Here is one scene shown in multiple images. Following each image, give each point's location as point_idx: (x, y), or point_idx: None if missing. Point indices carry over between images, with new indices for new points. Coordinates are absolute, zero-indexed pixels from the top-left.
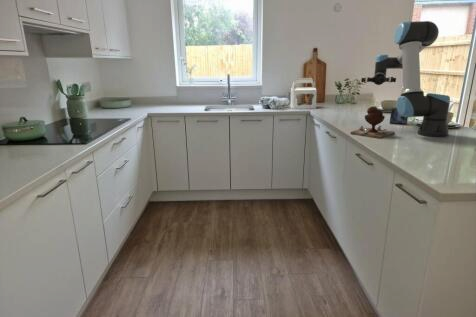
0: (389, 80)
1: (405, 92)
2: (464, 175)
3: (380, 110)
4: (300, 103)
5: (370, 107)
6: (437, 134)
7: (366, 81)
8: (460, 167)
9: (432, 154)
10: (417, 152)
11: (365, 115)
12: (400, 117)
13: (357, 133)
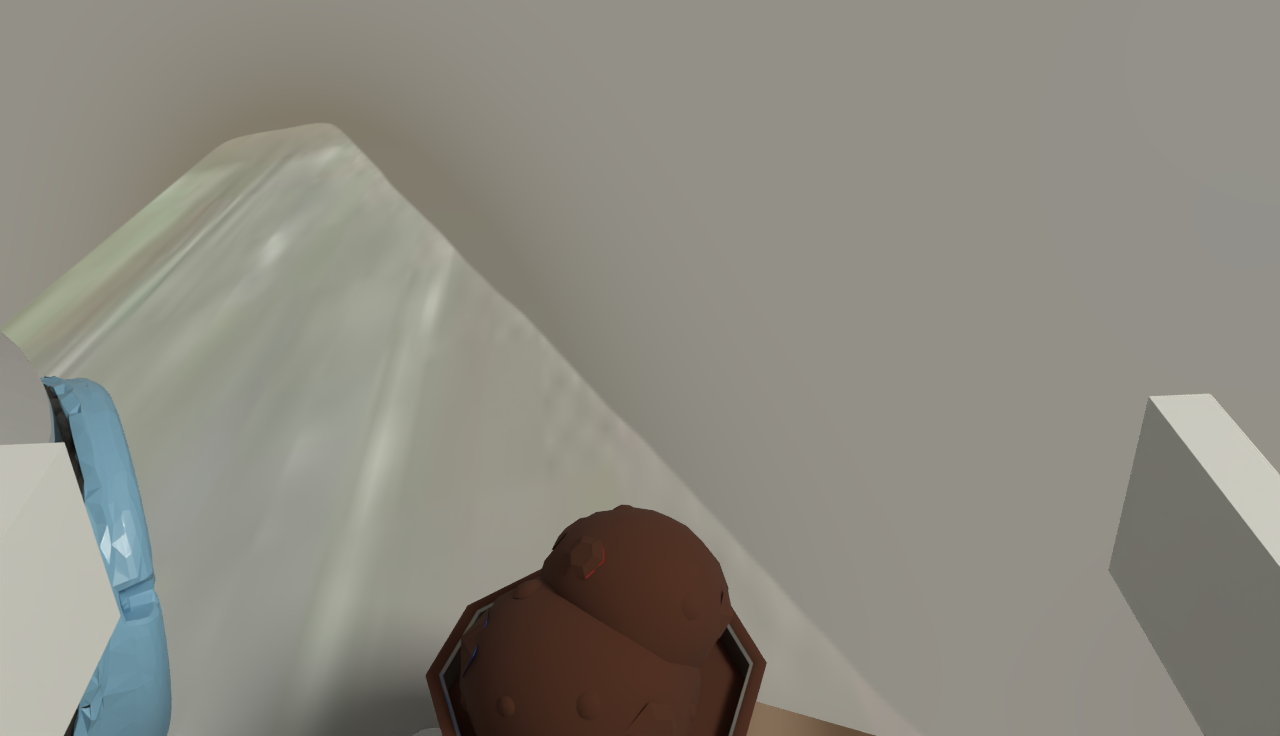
0: (79, 524)
1: (2, 335)
2: (165, 211)
3: (499, 615)
4: None
5: (673, 521)
6: None
7: (1123, 517)
8: (121, 265)
9: (163, 379)
10: (252, 388)
11: (752, 674)
12: None
13: (799, 718)
